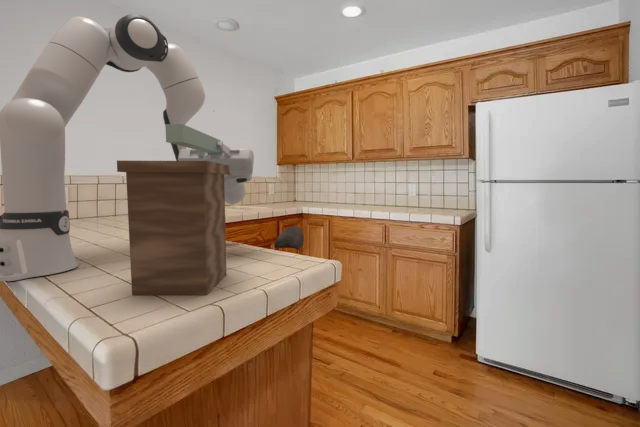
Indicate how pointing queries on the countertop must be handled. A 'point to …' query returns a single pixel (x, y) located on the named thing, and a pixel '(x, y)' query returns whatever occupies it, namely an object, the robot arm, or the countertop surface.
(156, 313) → the countertop surface
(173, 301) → the countertop surface
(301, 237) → the stone
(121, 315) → the countertop surface
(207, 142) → the bar
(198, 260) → the pedestal
